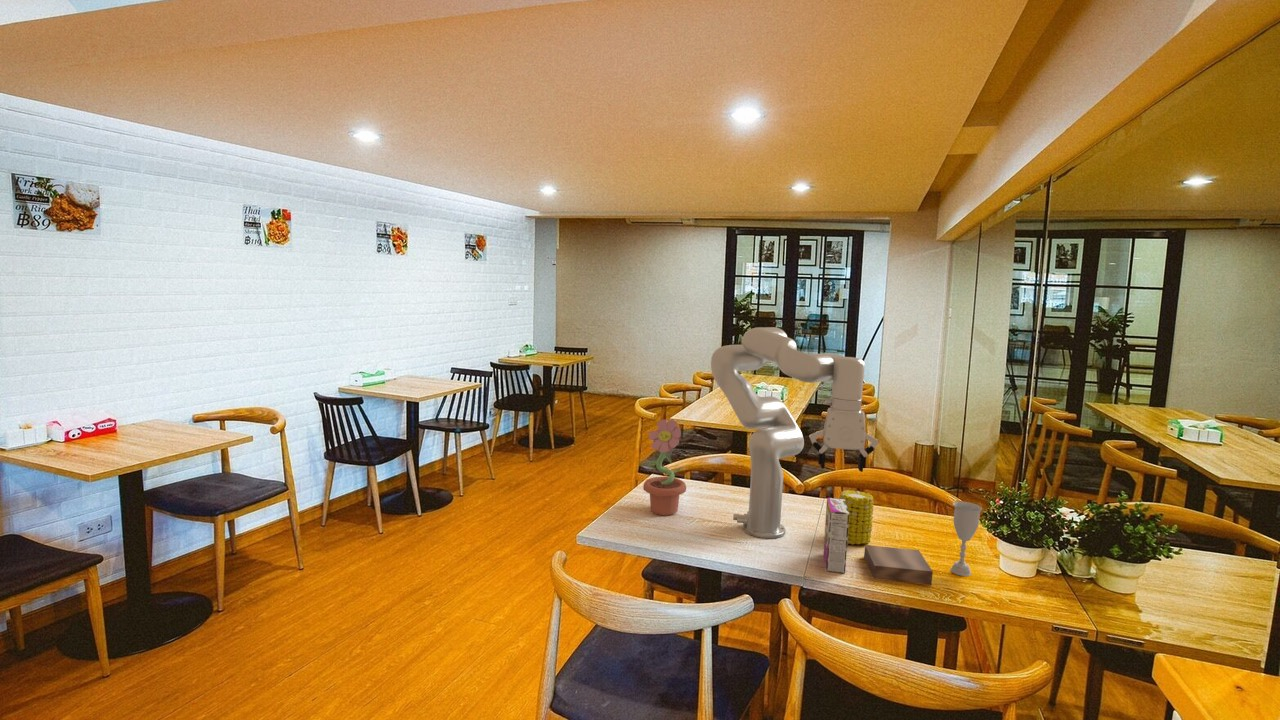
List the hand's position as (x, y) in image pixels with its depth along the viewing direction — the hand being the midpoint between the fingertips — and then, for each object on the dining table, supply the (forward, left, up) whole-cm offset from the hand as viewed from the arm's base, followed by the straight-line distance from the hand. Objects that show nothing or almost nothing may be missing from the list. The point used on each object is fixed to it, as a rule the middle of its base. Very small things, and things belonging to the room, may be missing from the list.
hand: (841, 468), depth 164 cm
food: (+8, +19, -26) cm, 33 cm away
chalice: (+33, +4, -26) cm, 42 cm away
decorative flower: (-50, +27, -26) cm, 63 cm away
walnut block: (+16, 0, -27) cm, 31 cm away
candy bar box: (0, 0, -26) cm, 26 cm away
